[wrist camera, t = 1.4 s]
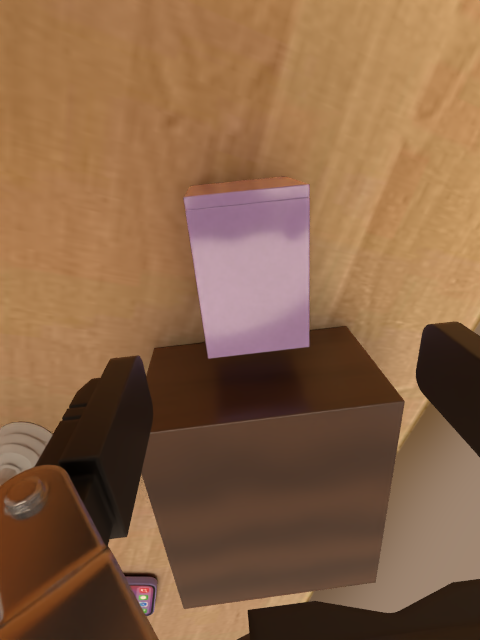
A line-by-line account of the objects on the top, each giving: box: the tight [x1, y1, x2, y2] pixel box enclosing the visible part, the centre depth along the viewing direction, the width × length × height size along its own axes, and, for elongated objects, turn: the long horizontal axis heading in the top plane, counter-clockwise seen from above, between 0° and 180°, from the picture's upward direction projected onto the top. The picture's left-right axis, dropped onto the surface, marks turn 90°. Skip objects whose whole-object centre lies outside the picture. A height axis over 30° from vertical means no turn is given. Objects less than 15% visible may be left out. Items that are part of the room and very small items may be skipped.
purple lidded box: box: [183, 176, 310, 359], centre depth 21 cm, size 9×6×6 cm, turn 5°
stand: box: [141, 326, 404, 609], centre depth 26 cm, size 18×15×9 cm
